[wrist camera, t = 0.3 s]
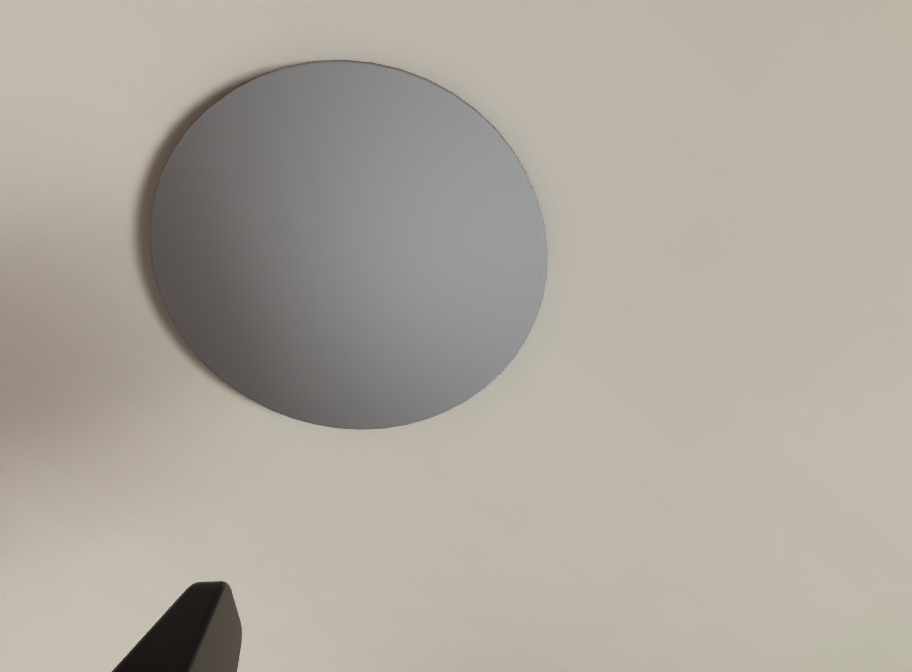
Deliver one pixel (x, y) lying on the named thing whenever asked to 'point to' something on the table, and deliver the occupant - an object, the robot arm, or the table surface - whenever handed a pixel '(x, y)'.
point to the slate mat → (349, 245)
